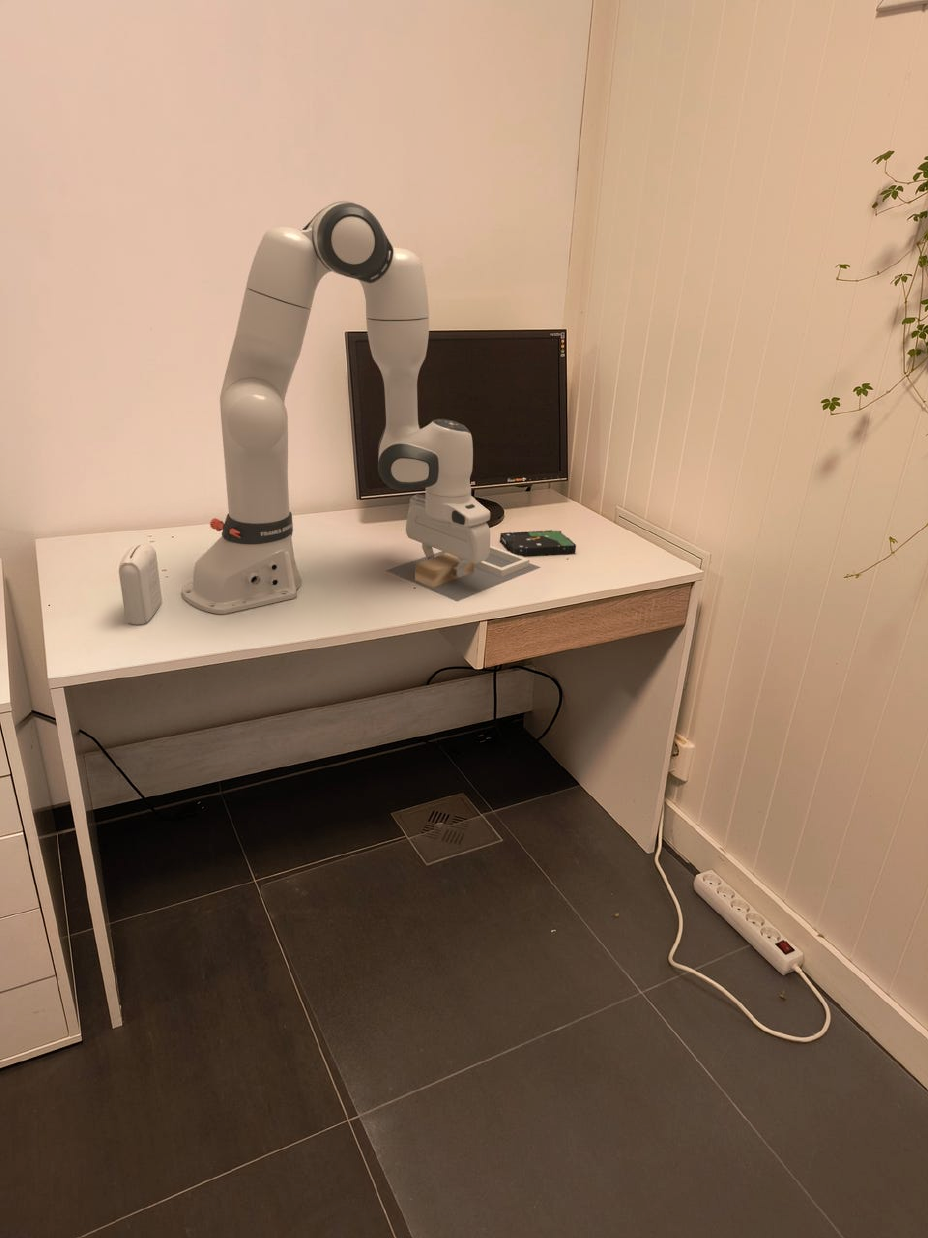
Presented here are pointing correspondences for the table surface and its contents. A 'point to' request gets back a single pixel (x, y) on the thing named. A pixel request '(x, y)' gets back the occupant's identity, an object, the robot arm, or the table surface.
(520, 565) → the mat
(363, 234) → the robot arm
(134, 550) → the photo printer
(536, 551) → the disk drive
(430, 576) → the tan wooden block
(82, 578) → the table surface
